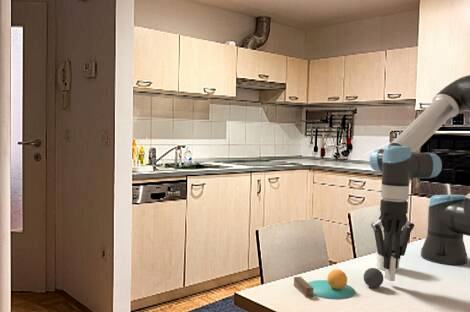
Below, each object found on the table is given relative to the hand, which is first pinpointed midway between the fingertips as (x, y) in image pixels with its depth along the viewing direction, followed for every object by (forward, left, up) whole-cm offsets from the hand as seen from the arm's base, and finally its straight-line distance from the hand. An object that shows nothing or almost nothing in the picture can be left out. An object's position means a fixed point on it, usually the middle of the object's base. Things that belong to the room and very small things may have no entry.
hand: (389, 279), depth 132 cm
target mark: (+19, 0, -2) cm, 19 cm away
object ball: (+17, 0, +1) cm, 17 cm away
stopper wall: (+27, 0, -2) cm, 27 cm away
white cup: (-9, -15, -2) cm, 18 cm away
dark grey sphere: (+5, 0, +1) cm, 6 cm away
